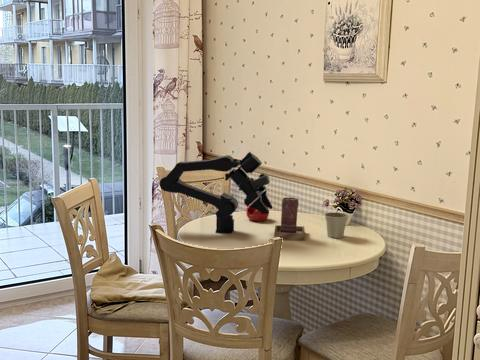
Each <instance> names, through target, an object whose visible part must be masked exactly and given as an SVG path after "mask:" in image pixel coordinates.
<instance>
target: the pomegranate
mask: <svg viewBox="0 0 480 360" xmlns="http://www.w3.org/2000/svg"><path fill="white" fill-rule="evenodd" d="M250 205H251V204H250ZM250 205H249V206H250ZM249 206H248V207H247V206H246V210H245V212H246V217H247V218H248V220H250V221H252V222H263V221H267V220H268V218H269V215H270V208H268V207H266V206H265V207H266V208H267V210H268V211H269V213H268V214H265V213H263V212H261V211H259V210H256V209H254V208H251V207H249Z"/></svg>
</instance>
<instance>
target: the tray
mask: <svg viewBox="0 0 480 360" xmlns="http://www.w3.org/2000/svg"><path fill="white" fill-rule="evenodd" d="M273 237H280V238H283V239H282V240H283V241H285V240H286V241H287V240H288V241H306V238H305V237H306V231H305V226H304V225H303V226H301V225H296V233H281V224H280V225H279V224H278V225H277V224H275V226H274V234H273Z"/></svg>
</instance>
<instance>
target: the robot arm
mask: <svg viewBox="0 0 480 360" xmlns="http://www.w3.org/2000/svg"><path fill="white" fill-rule="evenodd" d="M261 165H263V162H262V161H261V159H260V158H259V157H258V156H256V155H255V154H254V153H252V151H248V153H246V154H245V156H244V157H242V158H241V159H237V158H234V157H233V156H232V155H229V154H228V155H227V154H226V155H223V156H218V157H216V158H213V159H203V160H191V161H179V162H177V163H176V164H175V166H174V167H173V168H172V169H171V171H169V173H168V174H167V175H165V176H164V177H163V178H161V179H160V181H159V187H160V189H161V190H162V191H163V192H167V193H168V192H169V193H175V194H182V195H184V196H188V197H189V198H193V199H196V200H198V201H201V202H202V203H206V204H209V205H212V206H213V207H215V208H216V209H217V211H216V212H215V217H216V221H215V222H216V224H215V225H216V230H215V233H223V234H225V233H226V234H232V233H233V231H234V230H235V218H234V216H233V215H232V214H234V212H235V211H236V210H237V209H238V206H239V203H238V199H236V198H235V197H234V195H229V194H228V193H226V192H222V193H221V195H218V194H216V193H215V194H214V193H212V192H210V191H206V190H204V189H201V188H199V187H196V186H193V185H190V184H189V183H185V181H183V180H182V179H181V177H182V175H183V174H184V173H185V172H197V171H198V172H199V171H200V172H201V171H216V172H223V173H224V172H225V178H224V181H228V180H231V181H232V182H233V183H234V184H235V185H236V186H237V187H238V190H239V191H240V192H242V193H243V194H245V198H244V200H243V203H244V205H245V206H246V208H247V207H248V206H249V205H250V206H249V207H251V208H254V209H256V210H259V211H261V212H263V213H265V214H268V213H269V214H270V210H271V209H273V207H274V206H273V205H272V202H271V201H270V199H269V198H268V195H267V193H268V192H267V191H268V189H267V186H266V185H268V184H270V183H271V181H270V179H269V177H270V176H268V174H265V173H264V172H263V173H261V174H259V177H257V178H255V179H254V178H253V177H249V175H248V174H253V173H254V172H255V171H256V170H257V169H258V168H259V167H260V166H261ZM236 168H237V169H236ZM229 171H230V172H229ZM228 172H229V173H228ZM265 206H266V207H267V208H268V209H269V211H268V210H267V208H266V207H265Z"/></svg>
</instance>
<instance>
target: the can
mask: <svg viewBox="0 0 480 360" xmlns="http://www.w3.org/2000/svg"><path fill="white" fill-rule="evenodd" d="M298 209H299V198H296V197H283V198H282V200H281V216H280V217H281V220H280V225H281V233H296V226H298V225H297V222H298Z"/></svg>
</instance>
